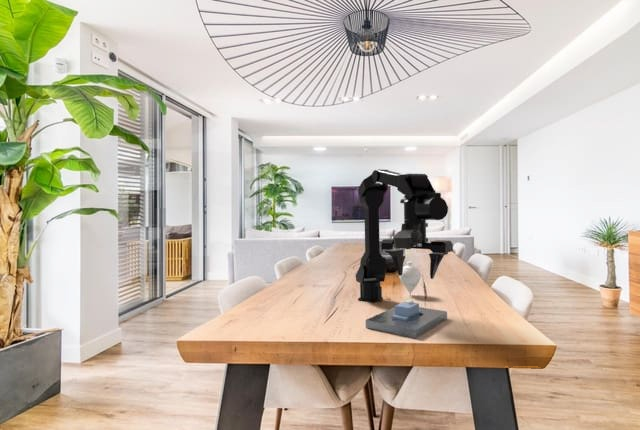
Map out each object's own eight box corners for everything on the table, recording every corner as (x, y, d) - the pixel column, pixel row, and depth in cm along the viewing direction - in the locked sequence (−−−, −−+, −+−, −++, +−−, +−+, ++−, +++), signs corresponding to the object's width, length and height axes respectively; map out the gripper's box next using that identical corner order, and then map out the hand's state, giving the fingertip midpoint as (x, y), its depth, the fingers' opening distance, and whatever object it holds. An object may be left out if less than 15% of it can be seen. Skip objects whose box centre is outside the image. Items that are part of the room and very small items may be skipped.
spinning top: (425, 295, 131) (425, 261, 131) (411, 298, 126) (411, 263, 126) (408, 291, 137) (408, 259, 137) (394, 294, 132) (394, 261, 132)
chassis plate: (416, 338, 87) (416, 330, 87) (365, 327, 95) (365, 320, 95) (447, 318, 102) (447, 311, 102) (401, 310, 111) (401, 304, 111)
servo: (392, 326, 96) (391, 304, 96) (408, 317, 104) (408, 297, 104) (406, 329, 94) (405, 307, 94) (422, 320, 101) (421, 299, 101)
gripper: (369, 220, 100) (370, 277, 100) (435, 220, 88) (436, 285, 88) (390, 219, 108) (391, 272, 108) (453, 219, 96) (454, 278, 96)
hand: (415, 277), depth 100 cm, fingers open, 9 cm apart
